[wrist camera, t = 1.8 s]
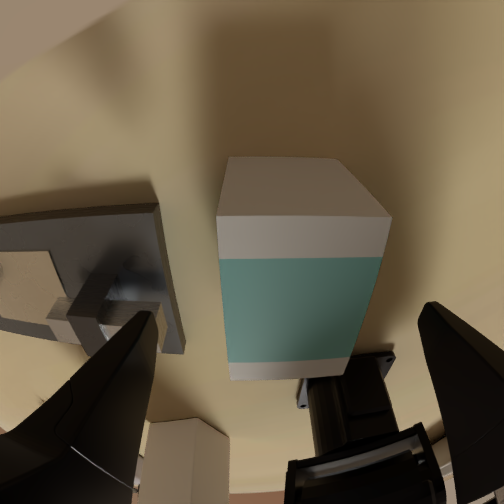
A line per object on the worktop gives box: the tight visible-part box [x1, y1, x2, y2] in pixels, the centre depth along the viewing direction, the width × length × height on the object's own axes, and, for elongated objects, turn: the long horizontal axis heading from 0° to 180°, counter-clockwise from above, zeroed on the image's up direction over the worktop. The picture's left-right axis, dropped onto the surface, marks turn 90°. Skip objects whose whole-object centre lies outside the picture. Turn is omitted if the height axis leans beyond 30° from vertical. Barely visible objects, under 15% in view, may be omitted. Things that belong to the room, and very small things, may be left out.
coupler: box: [216, 156, 392, 380], centre depth 11 cm, size 7×4×5 cm, turn 0°
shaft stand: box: [0, 203, 186, 357], centre depth 13 cm, size 9×20×4 cm, turn 90°
